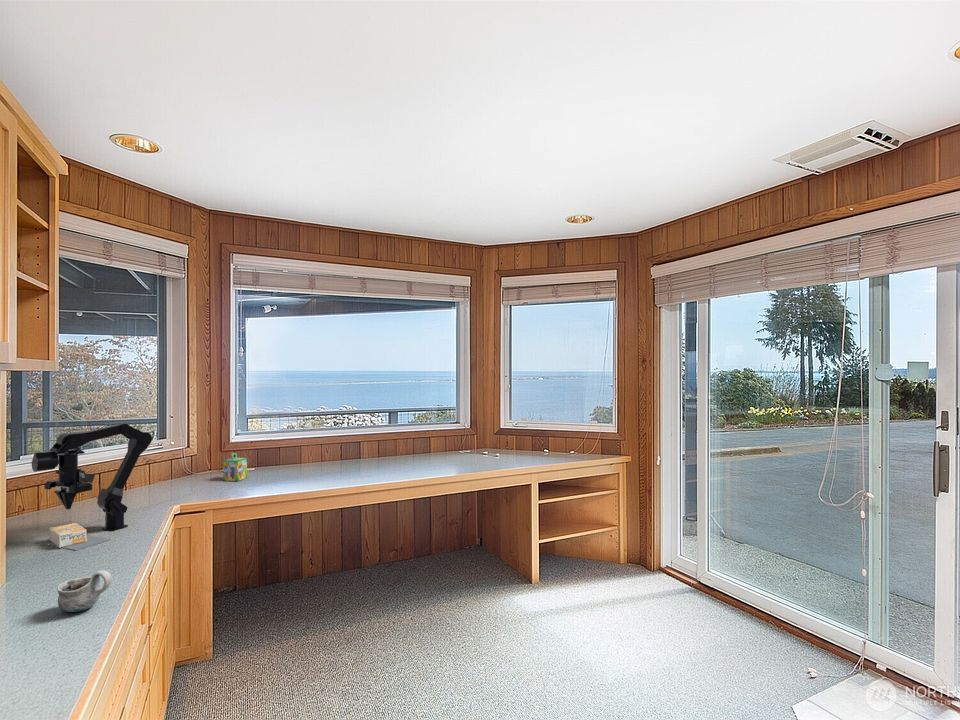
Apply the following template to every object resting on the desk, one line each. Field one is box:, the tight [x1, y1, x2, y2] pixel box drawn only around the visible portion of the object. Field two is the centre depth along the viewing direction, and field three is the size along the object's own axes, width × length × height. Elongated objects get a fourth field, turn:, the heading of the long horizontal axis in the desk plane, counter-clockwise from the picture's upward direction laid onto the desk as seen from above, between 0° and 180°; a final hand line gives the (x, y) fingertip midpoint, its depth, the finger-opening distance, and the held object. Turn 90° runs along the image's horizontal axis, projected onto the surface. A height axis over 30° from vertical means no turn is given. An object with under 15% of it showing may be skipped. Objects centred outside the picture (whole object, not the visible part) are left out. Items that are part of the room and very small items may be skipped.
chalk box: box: [222, 452, 248, 482], centre depth 299 cm, size 9×9×15 cm
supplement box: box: [49, 522, 87, 548], centre depth 198 cm, size 8×5×13 cm
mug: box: [56, 569, 112, 613], centre depth 145 cm, size 10×12×10 cm
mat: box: [48, 534, 112, 551], centre depth 198 cm, size 16×12×1 cm
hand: (68, 509), depth 201 cm, fingers closed
